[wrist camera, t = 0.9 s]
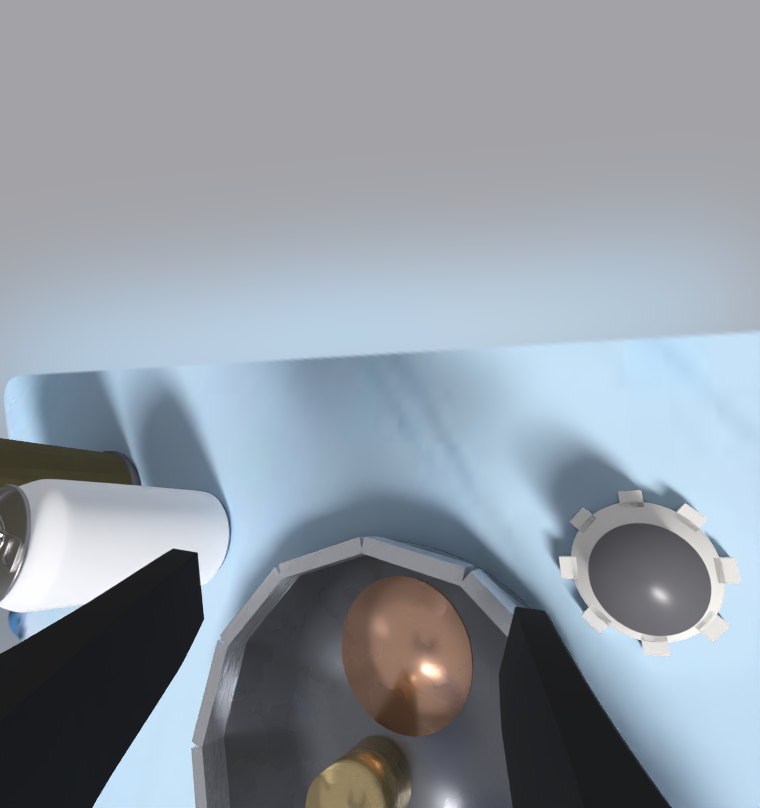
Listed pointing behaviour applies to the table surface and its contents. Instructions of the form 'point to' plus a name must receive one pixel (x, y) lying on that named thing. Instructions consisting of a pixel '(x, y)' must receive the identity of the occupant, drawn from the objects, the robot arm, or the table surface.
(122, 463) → the canister
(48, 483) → the can
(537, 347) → the table surface
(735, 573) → the gear
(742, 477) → the table surface
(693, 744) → the table surface
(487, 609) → the bowl
